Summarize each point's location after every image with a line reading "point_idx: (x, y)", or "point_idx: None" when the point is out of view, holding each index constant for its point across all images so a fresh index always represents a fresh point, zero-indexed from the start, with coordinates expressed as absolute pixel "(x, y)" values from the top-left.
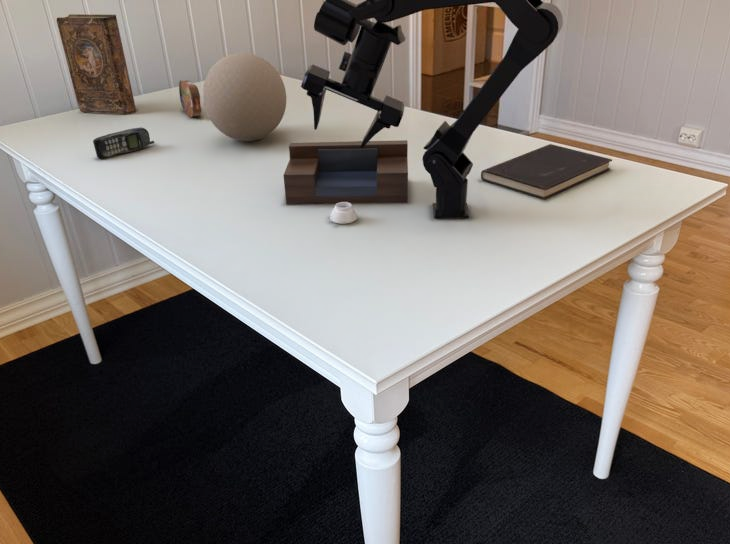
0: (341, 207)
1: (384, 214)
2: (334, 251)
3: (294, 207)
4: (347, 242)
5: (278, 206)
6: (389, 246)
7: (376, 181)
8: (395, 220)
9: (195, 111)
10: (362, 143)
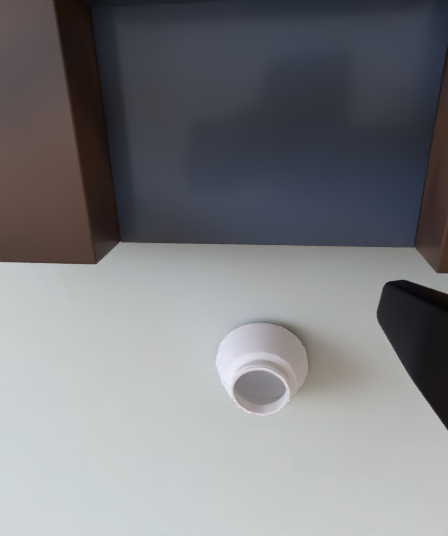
0: (251, 345)
1: None
2: (248, 514)
3: None
4: (279, 480)
5: None
6: (393, 510)
7: (421, 186)
8: None
9: None
10: (406, 367)
